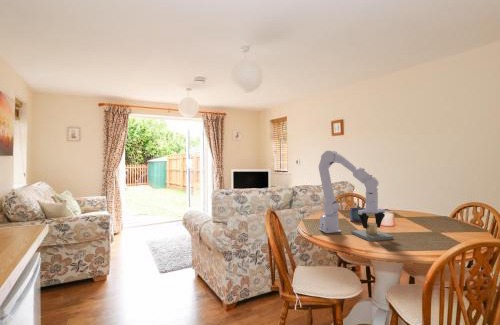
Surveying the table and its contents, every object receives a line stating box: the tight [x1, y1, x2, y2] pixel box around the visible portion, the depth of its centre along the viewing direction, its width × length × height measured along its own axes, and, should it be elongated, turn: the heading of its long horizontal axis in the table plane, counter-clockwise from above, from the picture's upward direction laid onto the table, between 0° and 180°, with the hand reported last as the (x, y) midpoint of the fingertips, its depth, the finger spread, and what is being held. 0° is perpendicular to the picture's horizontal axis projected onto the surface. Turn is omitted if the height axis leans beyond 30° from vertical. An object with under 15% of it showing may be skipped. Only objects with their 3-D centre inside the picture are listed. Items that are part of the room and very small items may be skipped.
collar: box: [365, 222, 378, 235], centre depth 143 cm, size 5×5×5 cm
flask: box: [349, 204, 366, 223], centre depth 176 cm, size 9×3×11 cm, turn 65°
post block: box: [350, 229, 394, 242], centre depth 143 cm, size 14×14×6 cm
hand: (371, 227), depth 143 cm, fingers open, 7 cm apart
